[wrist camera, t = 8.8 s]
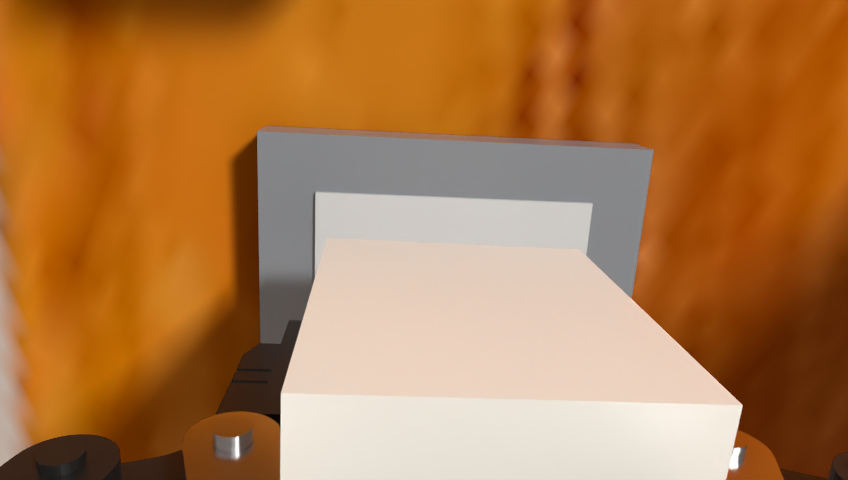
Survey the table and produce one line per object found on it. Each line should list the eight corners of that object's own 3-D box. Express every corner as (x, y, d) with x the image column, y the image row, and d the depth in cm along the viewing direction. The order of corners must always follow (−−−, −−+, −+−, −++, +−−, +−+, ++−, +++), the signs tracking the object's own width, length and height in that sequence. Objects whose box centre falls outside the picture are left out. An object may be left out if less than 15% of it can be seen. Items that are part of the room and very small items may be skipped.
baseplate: (634, 143, 16) (655, 150, 15) (589, 459, 18) (604, 488, 17) (266, 125, 15) (256, 131, 14) (270, 455, 18) (261, 484, 16)
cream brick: (579, 249, 13) (743, 405, 7) (550, 466, 14) (667, 747, 8) (326, 237, 12) (280, 392, 7) (320, 462, 14) (278, 754, 8)
